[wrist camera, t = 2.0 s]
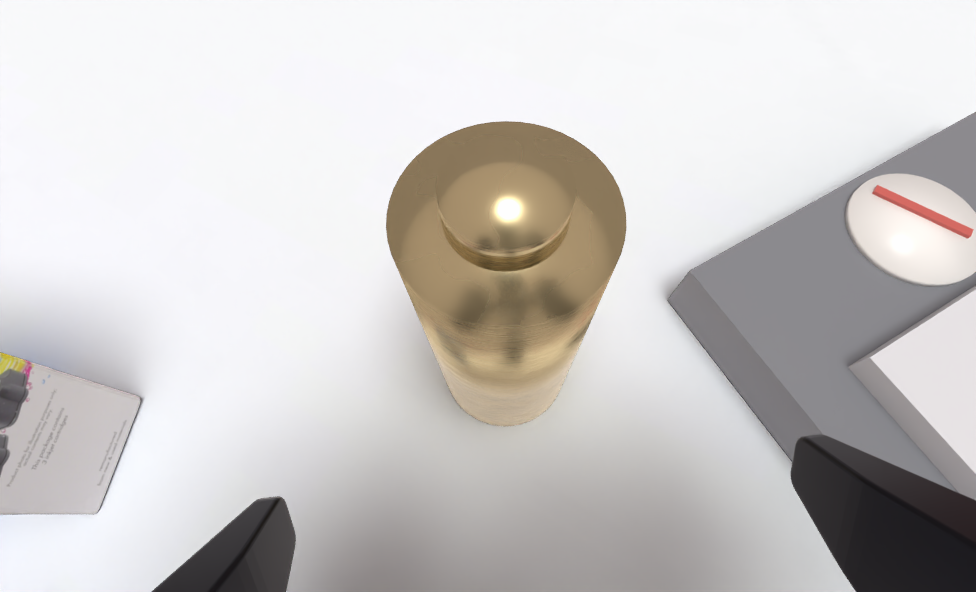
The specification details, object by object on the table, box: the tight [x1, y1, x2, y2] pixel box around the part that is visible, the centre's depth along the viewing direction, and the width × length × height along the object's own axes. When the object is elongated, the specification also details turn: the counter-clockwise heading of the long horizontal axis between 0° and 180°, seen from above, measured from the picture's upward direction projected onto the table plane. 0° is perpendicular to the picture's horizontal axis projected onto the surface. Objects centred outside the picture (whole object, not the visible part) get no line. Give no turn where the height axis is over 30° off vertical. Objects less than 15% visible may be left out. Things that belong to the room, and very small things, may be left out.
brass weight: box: [386, 121, 626, 426], centre depth 16 cm, size 5×5×13 cm
